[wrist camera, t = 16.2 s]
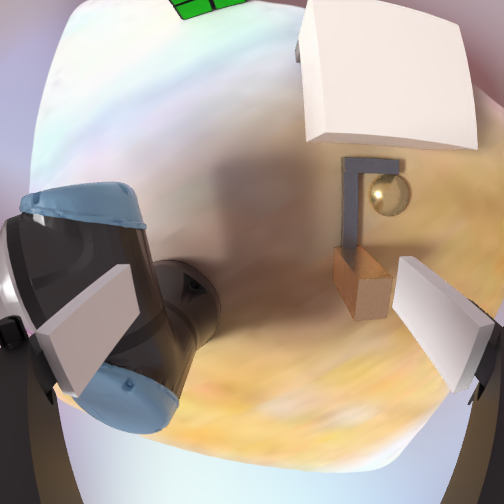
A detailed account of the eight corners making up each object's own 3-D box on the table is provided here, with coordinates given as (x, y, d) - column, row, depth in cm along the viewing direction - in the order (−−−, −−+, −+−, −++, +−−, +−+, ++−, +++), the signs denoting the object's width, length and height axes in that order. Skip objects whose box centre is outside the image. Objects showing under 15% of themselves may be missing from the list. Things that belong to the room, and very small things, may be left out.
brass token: (405, 212, 38) (409, 214, 37) (369, 216, 39) (372, 218, 37) (403, 172, 36) (406, 173, 35) (366, 175, 37) (369, 175, 36)
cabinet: (408, 150, 35) (477, 149, 20) (301, 144, 36) (325, 132, 21) (400, 61, 31) (458, 25, 15) (295, 50, 32) (310, -9, 16)
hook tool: (387, 276, 41) (422, 313, 29) (333, 279, 41) (354, 321, 30) (393, 159, 36) (438, 161, 24) (334, 157, 36) (362, 155, 25)
